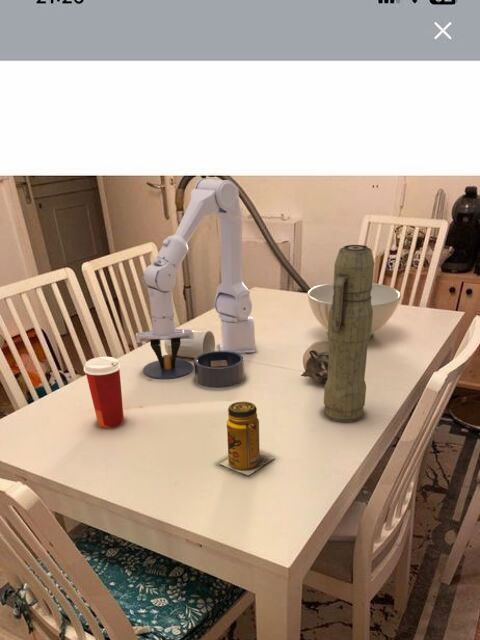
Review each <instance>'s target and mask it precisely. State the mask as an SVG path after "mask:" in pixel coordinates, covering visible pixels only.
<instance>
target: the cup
mask: <svg viewBox="0 0 480 640" xmlns="http://www.w3.org/2000/svg"><path fill="white" fill-rule="evenodd" d="M193 336H194V339H180V341H181V344H180V347H179V350H178V352H177V356H176V357H181V358H188V359H193V360H194V359H195V358H196V357H197V356H198V355H200V354H203V353H207V352H212V351H216V338H215V335H214V333H213V332H212V331H211V330H197V331H195V330H193ZM164 350H165V352H166V355H171V356H172V349H171V340H164Z"/></svg>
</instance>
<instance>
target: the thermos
mask: <svg viewBox="0 0 480 640" xmlns="http://www.w3.org/2000/svg"><path fill="white" fill-rule="evenodd" d="M372 250H373V249H372V248H371V247H369V246H367V245H363V244H348V245H343V247H341V248H339V250H338V253H337V255H336V259H335V262H334V267H333V268H334V269H333V283H334V284H333V289H334V295H333V301H332V304H331V307H330V310H329V319H328V330H327V338H328V340H330V344H329V362H328V379H327V382H325V384H324V390H323V405H324V410H323V415H324V417H326V419H328V420H330V421H334V422H337V423H352V422H357V421H359V420H361V419H362V418H363V417H364V407H365V404H366V396H367V395H366V394H367V383H366V381H365V377H366V368H367V367H366V366H367V357H368V356H367V355H368V346H369V345H368V344H369V341H370V339H371V337H372V335H371V328H372V317H373V309H372V304H371V290H372V284H373V283H374V270H375V260H374V259H375V258H374V255H373V251H372Z"/></svg>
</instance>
